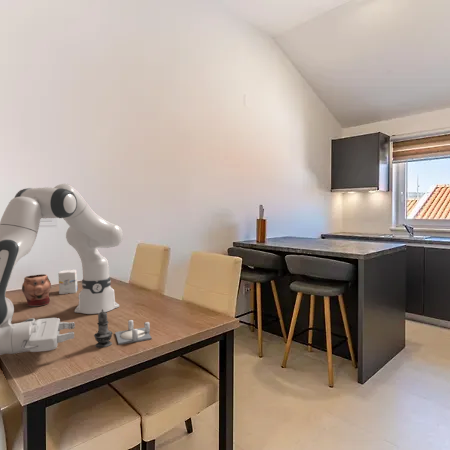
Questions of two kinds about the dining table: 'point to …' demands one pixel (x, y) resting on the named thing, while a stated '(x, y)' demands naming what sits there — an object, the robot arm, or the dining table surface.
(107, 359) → the dining table surface
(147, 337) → the pin socket board
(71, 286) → the ink box
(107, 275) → the robot arm
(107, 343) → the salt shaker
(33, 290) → the decorative planter
